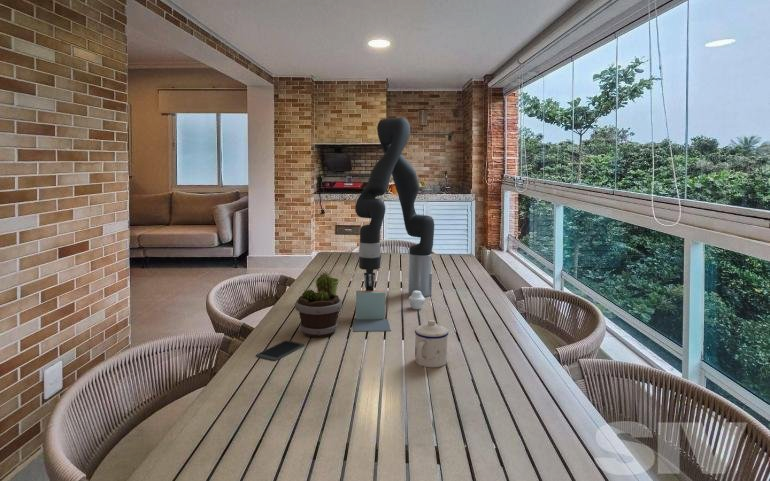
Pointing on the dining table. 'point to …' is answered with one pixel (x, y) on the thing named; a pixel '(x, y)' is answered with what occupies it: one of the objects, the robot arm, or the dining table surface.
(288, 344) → the cell phone
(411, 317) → the dining table surface
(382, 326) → the mat
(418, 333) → the teacup with lid
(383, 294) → the tile
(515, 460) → the dining table surface
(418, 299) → the white citrus juicer
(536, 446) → the dining table surface
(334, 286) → the plant pot
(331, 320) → the flowerpot
